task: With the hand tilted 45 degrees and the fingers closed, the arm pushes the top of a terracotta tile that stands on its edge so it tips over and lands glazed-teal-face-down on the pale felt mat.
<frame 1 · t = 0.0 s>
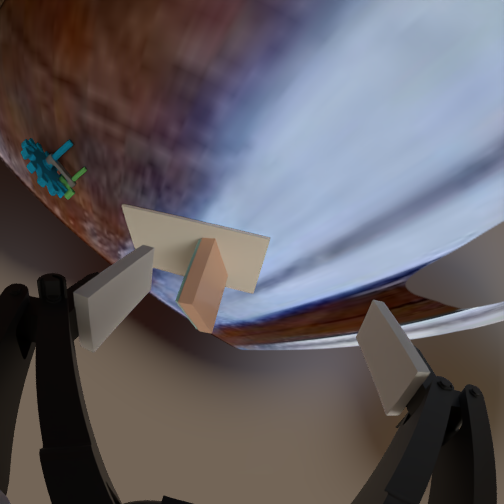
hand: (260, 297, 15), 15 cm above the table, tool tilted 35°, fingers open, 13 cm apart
tile: (214, 257, 40), resting on felt mat
felt mat: (193, 252, 41), on the table
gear: (64, 151, 29), on the table
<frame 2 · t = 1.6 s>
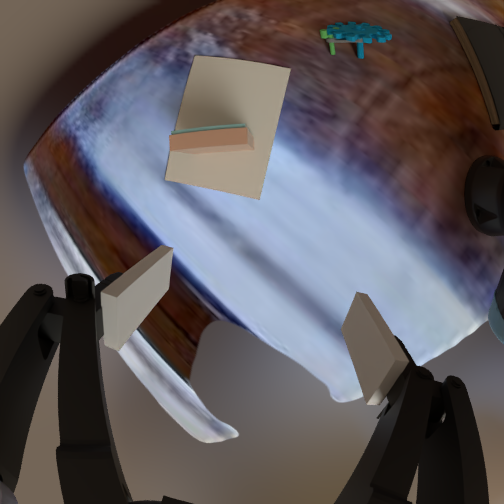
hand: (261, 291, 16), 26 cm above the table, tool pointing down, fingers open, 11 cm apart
tile: (223, 144, 38), resting on felt mat
felt mat: (225, 121, 37), on the table
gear: (349, 41, 31), on the table
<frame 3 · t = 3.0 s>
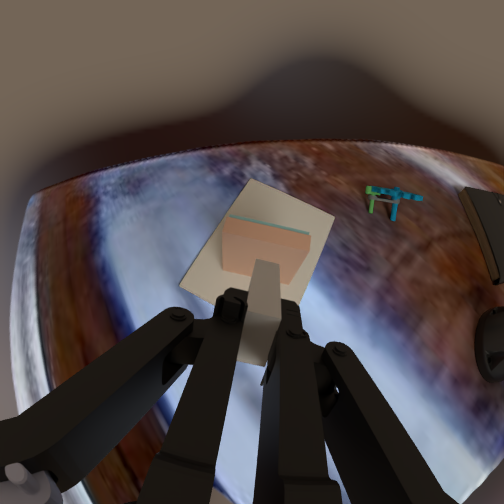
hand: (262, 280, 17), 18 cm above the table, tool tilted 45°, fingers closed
tile: (257, 269, 37), resting on felt mat
dark hardcover book: (503, 237, 48), on the table
felt mat: (264, 249, 39), on the table
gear: (384, 205, 45), on the table
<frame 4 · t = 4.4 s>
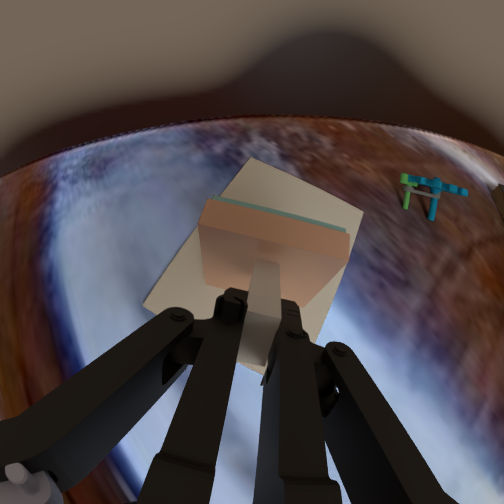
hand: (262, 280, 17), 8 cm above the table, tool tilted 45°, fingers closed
tile: (257, 284, 25), resting on felt mat, touching gripper
felt mat: (268, 254, 27), on the table
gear: (419, 201, 33), on the table
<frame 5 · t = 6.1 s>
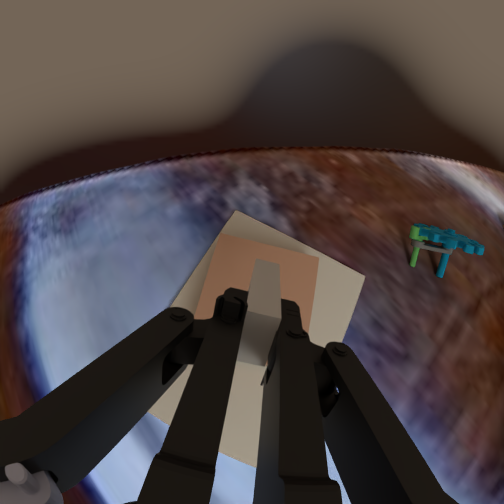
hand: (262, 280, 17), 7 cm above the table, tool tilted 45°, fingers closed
tile: (242, 360, 20), point 2 cm above the table, tilted 90°, touching felt mat
felt mat: (252, 337, 23), on the table
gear: (428, 252, 29), on the table
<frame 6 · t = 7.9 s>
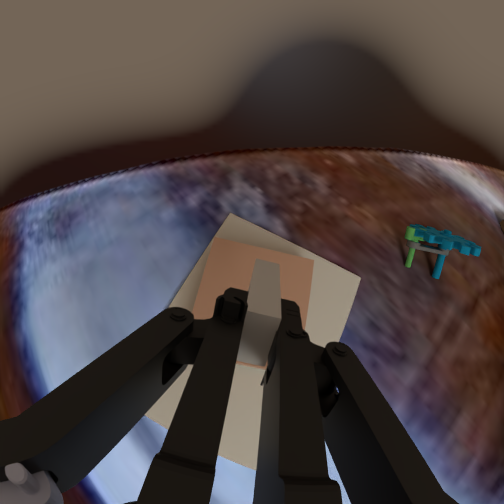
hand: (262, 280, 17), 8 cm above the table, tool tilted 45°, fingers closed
tile: (239, 364, 20), point 2 cm above the table, tilted 90°, touching felt mat
felt mat: (248, 340, 23), on the table
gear: (424, 253, 30), on the table
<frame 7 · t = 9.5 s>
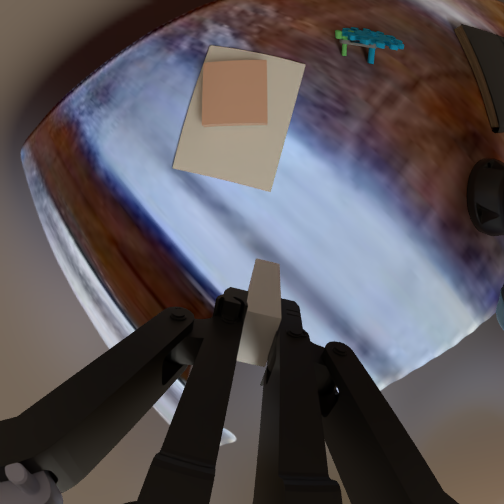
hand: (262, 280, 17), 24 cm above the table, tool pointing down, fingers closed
tile: (235, 124, 35), point 2 cm above the table, tilted 90°, touching felt mat
felt mat: (239, 111, 36), on the table
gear: (361, 46, 32), on the table
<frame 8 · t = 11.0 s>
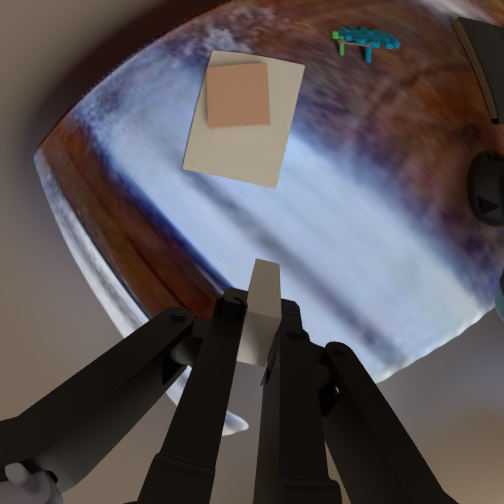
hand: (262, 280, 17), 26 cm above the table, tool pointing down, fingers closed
tile: (239, 126, 37), point 2 cm above the table, tilted 90°, touching felt mat
felt mat: (243, 113, 38), on the table
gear: (359, 45, 33), on the table
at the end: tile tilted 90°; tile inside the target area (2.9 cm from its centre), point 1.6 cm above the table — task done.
